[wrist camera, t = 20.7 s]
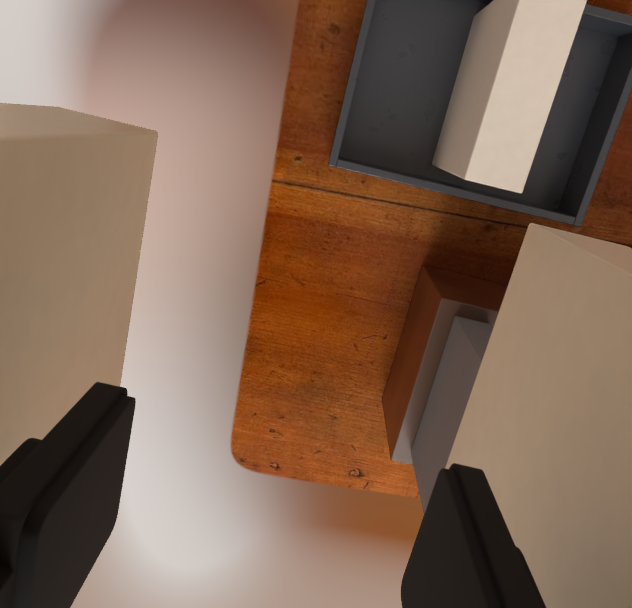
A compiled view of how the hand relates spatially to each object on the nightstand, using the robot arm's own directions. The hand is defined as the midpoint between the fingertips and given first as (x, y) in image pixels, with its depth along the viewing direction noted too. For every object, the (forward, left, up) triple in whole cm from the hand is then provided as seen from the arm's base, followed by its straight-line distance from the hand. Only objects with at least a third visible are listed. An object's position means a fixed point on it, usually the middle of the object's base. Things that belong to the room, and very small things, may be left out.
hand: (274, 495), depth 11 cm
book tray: (+9, +11, -39) cm, 42 cm away
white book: (+9, +11, -39) cm, 41 cm away
